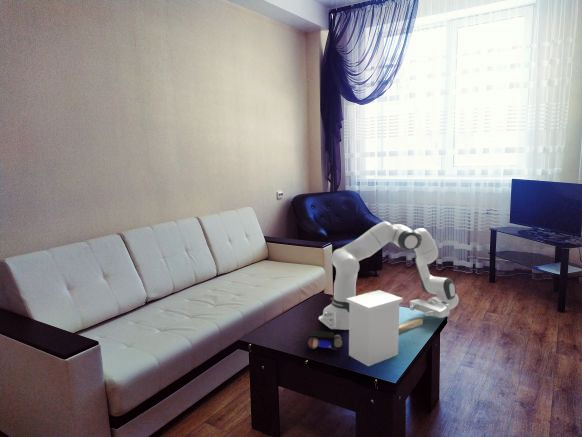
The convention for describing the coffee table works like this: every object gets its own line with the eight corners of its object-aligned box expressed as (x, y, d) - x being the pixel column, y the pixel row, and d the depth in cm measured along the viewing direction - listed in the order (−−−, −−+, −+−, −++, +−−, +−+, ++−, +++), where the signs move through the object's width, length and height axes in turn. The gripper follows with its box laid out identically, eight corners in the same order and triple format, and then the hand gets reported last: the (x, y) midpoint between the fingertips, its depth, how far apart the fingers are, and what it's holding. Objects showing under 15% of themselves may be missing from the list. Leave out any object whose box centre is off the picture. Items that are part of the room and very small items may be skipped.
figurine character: (340, 347, 196) (307, 343, 197) (342, 332, 195) (309, 328, 196) (340, 354, 189) (307, 350, 190) (342, 338, 188) (309, 334, 189)
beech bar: (418, 317, 220) (417, 323, 221) (384, 330, 206) (383, 335, 206) (422, 319, 218) (422, 324, 219) (388, 332, 203) (388, 337, 204)
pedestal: (345, 355, 186) (346, 298, 182) (378, 343, 197) (379, 289, 193) (368, 368, 174) (369, 307, 170) (401, 354, 185) (402, 298, 181)
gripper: (419, 294, 232) (402, 300, 225) (451, 305, 215) (434, 311, 208) (419, 305, 233) (402, 311, 225) (451, 316, 216) (434, 323, 209)
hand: (417, 311), depth 216 cm, fingers open, 8 cm apart
